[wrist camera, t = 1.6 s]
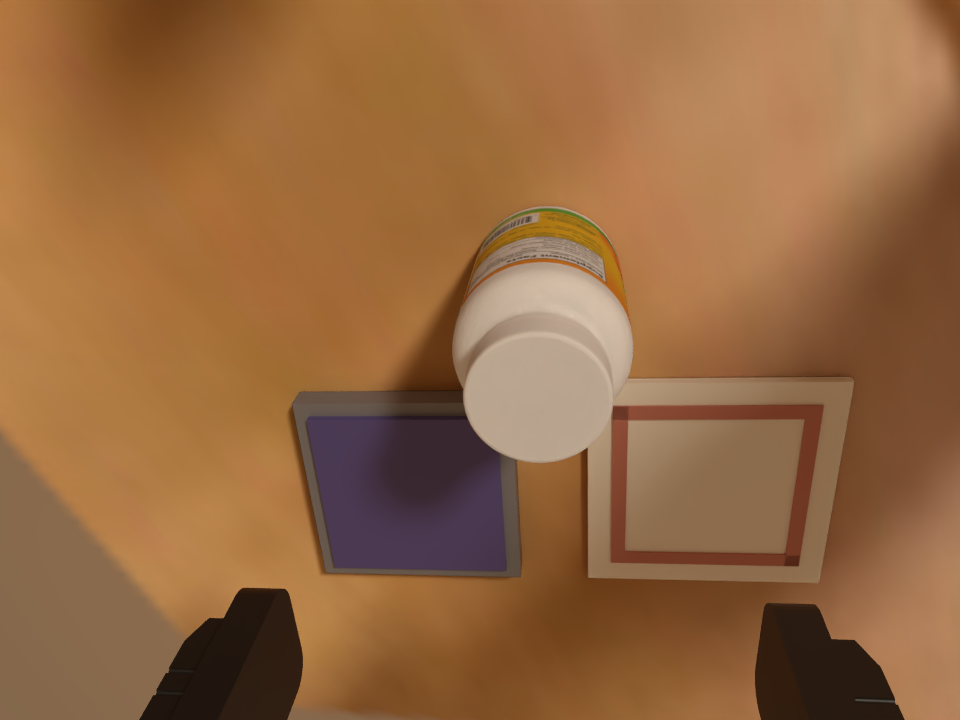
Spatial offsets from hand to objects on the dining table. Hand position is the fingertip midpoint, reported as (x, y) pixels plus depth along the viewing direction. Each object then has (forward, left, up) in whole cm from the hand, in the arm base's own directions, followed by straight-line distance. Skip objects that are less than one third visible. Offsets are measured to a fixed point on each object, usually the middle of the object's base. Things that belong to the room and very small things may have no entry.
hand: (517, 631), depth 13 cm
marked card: (-7, +10, -18) cm, 21 cm away
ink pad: (+6, +10, -18) cm, 21 cm away
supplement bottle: (0, 0, -18) cm, 18 cm away
